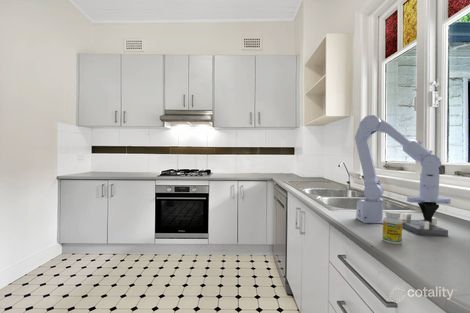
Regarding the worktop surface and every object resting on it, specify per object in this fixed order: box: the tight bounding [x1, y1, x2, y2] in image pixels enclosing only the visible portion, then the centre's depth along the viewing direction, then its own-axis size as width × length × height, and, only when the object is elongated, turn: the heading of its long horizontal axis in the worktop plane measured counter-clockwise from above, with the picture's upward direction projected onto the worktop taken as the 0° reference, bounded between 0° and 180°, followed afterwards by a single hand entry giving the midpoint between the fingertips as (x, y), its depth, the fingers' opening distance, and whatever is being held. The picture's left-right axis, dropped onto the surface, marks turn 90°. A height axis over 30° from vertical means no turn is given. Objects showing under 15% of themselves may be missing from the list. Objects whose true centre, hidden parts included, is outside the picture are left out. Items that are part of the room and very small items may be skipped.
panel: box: [401, 212, 449, 237], centre depth 96 cm, size 10×13×5 cm
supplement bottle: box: [382, 210, 403, 245], centre depth 82 cm, size 5×5×10 cm
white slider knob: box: [429, 216, 438, 226], centre depth 96 cm, size 2×2×2 cm, turn 177°
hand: (427, 222), depth 96 cm, fingers closed
